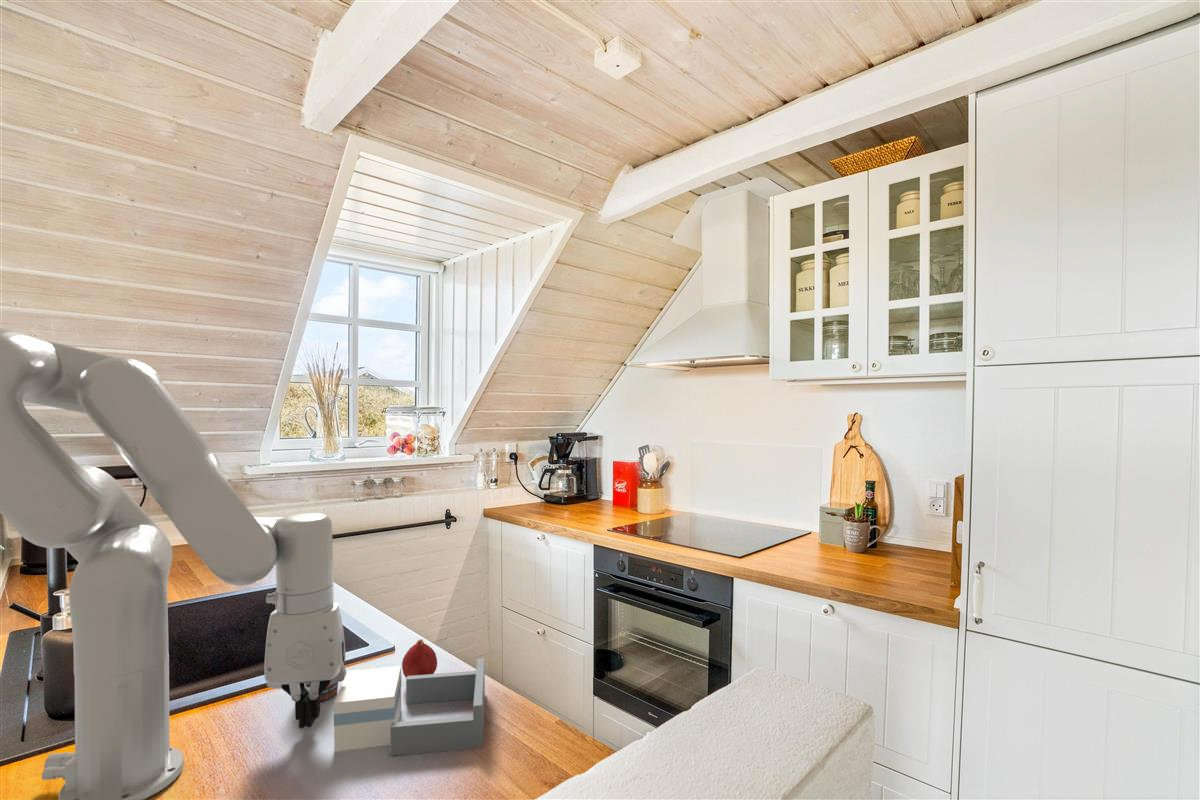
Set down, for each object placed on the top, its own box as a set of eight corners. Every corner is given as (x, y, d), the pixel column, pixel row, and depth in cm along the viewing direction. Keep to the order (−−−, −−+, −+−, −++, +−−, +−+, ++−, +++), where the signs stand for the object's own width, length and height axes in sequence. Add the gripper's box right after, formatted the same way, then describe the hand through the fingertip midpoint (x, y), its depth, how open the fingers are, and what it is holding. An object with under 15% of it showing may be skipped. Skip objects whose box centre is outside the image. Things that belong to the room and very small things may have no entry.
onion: (396, 684, 104) (396, 638, 104) (427, 674, 108) (427, 629, 108) (411, 697, 99) (411, 648, 99) (443, 685, 103) (442, 639, 103)
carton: (333, 753, 84) (333, 703, 84) (347, 715, 94) (346, 671, 94) (394, 745, 86) (394, 696, 86) (401, 709, 96) (401, 665, 96)
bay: (390, 756, 83) (390, 712, 83) (407, 700, 98) (407, 663, 98) (482, 747, 85) (481, 705, 85) (484, 694, 100) (484, 658, 100)
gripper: (239, 612, 84) (242, 743, 84) (353, 604, 86) (355, 731, 86) (260, 594, 91) (263, 714, 91) (364, 587, 93) (366, 704, 94)
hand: (308, 722), depth 89 cm, fingers closed
